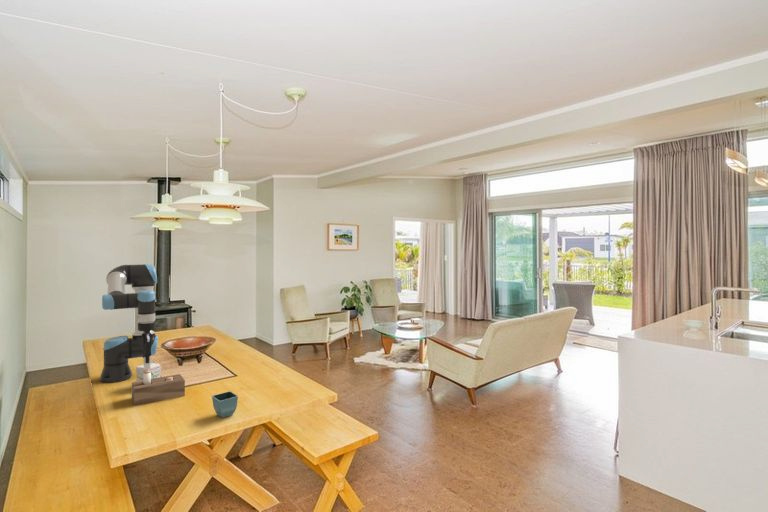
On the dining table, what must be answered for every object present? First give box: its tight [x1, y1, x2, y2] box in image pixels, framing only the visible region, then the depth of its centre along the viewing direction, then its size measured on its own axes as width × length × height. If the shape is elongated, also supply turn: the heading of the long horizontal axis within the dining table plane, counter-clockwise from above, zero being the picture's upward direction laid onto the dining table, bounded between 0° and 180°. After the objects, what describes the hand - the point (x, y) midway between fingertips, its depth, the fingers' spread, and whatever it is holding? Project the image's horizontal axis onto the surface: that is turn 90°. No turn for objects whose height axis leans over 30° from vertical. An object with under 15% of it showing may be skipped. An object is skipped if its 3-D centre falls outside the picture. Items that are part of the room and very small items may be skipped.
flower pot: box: [211, 390, 239, 419], centre depth 186 cm, size 9×9×9 cm
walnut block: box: [131, 373, 186, 407], centre depth 206 cm, size 12×22×8 cm, turn 127°
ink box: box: [135, 362, 162, 382], centre depth 220 cm, size 8×8×12 cm
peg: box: [143, 370, 151, 385], centre depth 203 cm, size 3×3×8 cm
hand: (147, 368), depth 203 cm, fingers closed
